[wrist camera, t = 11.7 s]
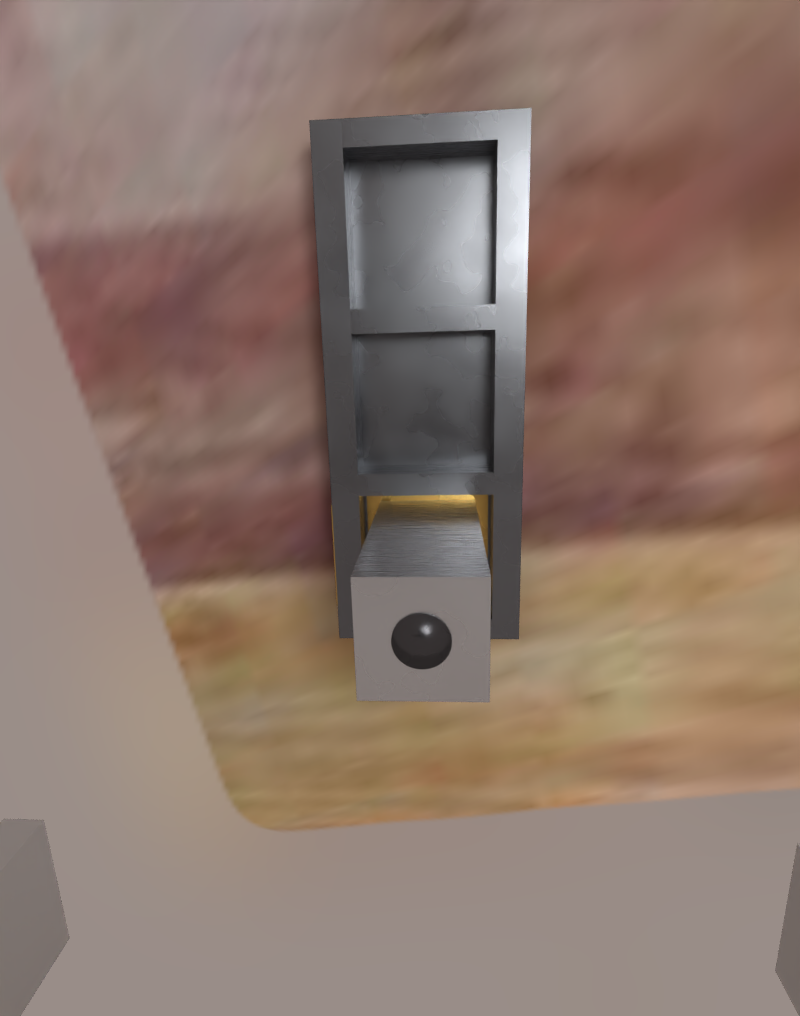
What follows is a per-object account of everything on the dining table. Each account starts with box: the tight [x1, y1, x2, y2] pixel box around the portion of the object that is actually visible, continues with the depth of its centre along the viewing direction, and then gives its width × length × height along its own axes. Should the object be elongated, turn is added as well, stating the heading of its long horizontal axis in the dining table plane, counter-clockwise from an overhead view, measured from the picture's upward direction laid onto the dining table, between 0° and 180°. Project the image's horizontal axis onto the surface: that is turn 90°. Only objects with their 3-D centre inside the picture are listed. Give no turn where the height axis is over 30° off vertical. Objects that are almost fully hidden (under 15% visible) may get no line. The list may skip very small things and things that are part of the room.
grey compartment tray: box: [309, 108, 531, 639], centre depth 27 cm, size 22×9×2 cm, turn 2°
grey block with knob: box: [351, 500, 491, 702], centre depth 25 cm, size 4×4×10 cm
